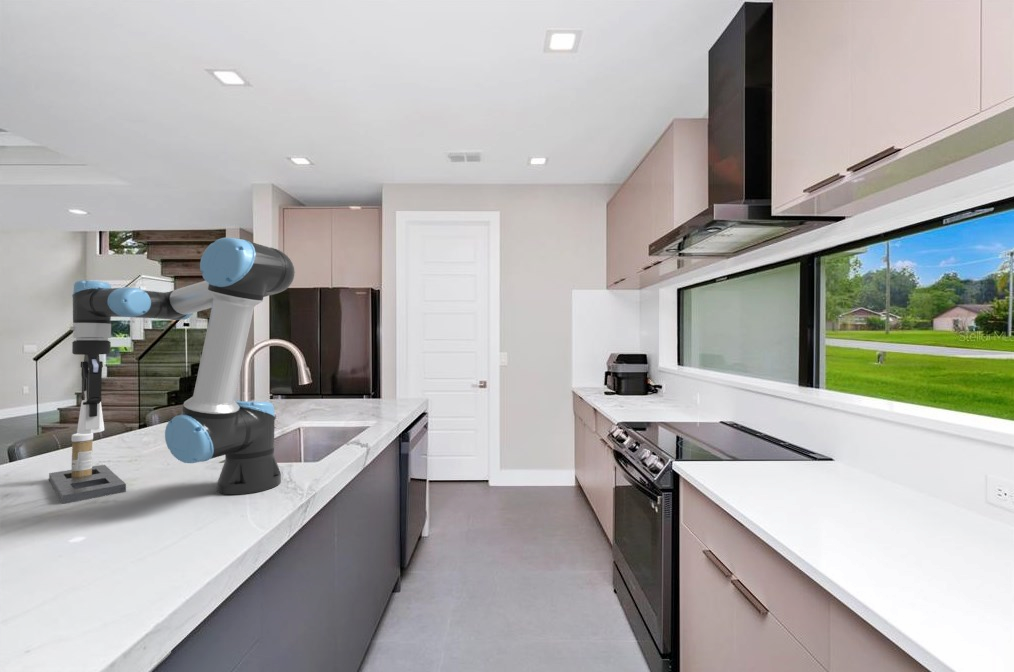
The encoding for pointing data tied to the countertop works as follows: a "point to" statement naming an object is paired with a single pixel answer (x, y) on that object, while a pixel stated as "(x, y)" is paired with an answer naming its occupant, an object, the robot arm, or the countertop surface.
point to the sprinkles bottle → (82, 454)
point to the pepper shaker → (82, 420)
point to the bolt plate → (86, 484)
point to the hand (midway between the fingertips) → (90, 427)
